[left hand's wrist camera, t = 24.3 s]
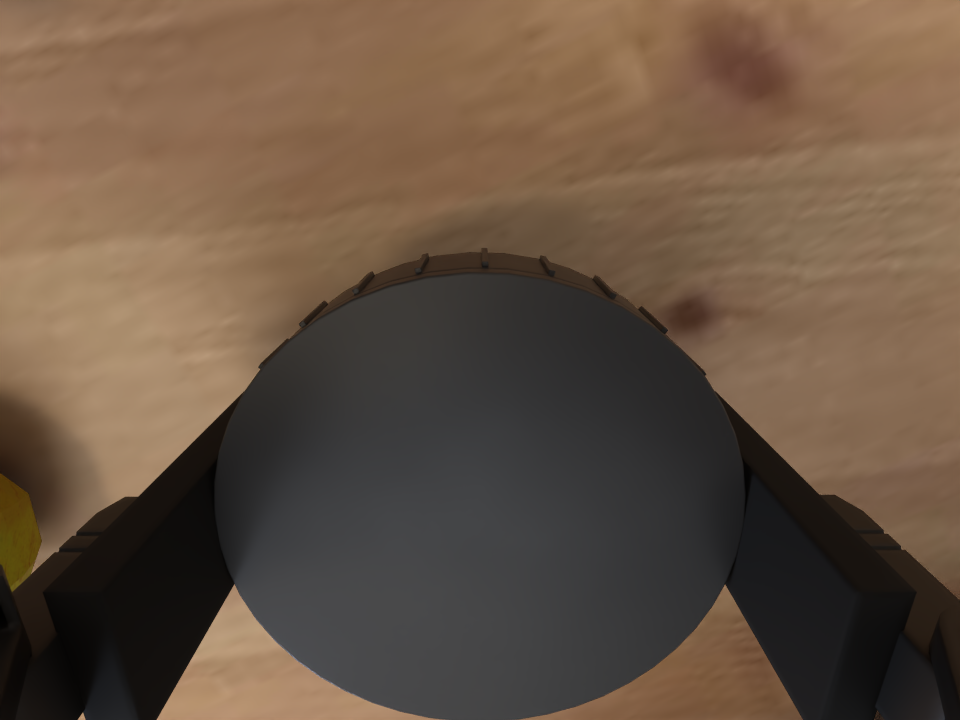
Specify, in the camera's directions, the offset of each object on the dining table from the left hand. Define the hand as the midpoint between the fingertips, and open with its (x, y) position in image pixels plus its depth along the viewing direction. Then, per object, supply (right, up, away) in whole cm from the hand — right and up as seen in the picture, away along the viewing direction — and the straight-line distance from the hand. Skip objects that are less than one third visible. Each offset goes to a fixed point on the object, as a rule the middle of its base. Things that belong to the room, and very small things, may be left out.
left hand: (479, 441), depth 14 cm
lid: (0, -1, -3) cm, 3 cm away
